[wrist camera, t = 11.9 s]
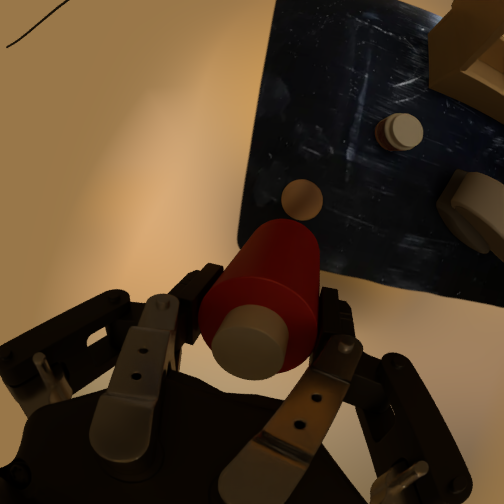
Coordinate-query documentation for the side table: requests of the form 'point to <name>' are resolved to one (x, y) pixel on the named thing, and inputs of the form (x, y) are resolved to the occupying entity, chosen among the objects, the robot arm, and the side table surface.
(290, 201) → the coaster
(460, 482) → the robot arm
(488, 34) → the breadbox lid
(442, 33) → the box
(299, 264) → the sauce bottle
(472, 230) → the alarm clock
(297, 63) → the side table surface
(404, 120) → the pill bottle
